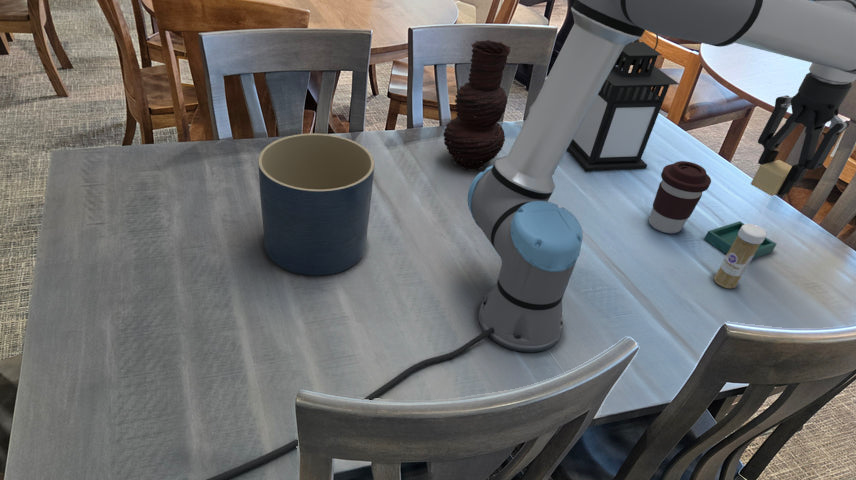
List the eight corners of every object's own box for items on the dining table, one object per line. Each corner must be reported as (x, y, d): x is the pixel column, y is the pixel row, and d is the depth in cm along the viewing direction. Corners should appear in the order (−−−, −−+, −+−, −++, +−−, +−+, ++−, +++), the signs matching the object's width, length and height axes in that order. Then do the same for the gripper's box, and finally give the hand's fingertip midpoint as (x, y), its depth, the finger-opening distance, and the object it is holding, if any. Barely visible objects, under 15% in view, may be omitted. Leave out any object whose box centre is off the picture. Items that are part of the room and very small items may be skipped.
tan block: (771, 196, 128) (782, 176, 125) (750, 184, 131) (760, 165, 128) (790, 190, 130) (801, 171, 127) (769, 178, 133) (779, 159, 130)
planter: (378, 226, 139) (386, 144, 127) (351, 288, 123) (356, 200, 110) (284, 207, 143) (282, 125, 130) (245, 264, 127) (239, 177, 114)
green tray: (740, 263, 136) (744, 255, 135) (704, 239, 142) (708, 230, 141) (772, 252, 140) (777, 244, 138) (735, 229, 146) (739, 220, 145)
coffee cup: (691, 240, 142) (719, 183, 132) (645, 233, 143) (670, 176, 133) (682, 216, 149) (708, 160, 140) (639, 210, 150) (662, 154, 141)
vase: (430, 151, 168) (446, 37, 148) (482, 145, 172) (505, 33, 152) (454, 180, 156) (475, 61, 137) (509, 173, 160) (537, 57, 141)
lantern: (585, 171, 163) (630, 35, 141) (557, 140, 176) (595, 10, 154) (645, 168, 166) (699, 34, 144) (614, 138, 179) (658, 10, 157)
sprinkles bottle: (709, 280, 131) (737, 227, 122) (719, 272, 133) (748, 220, 125) (730, 292, 128) (761, 239, 120) (740, 284, 130) (771, 231, 122)
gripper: (892, 93, 111) (822, 205, 126) (798, 57, 123) (745, 162, 138) (866, 99, 108) (798, 212, 123) (773, 62, 120) (721, 169, 135)
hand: (770, 186), depth 130 cm, fingers closed on tan block, 5 cm apart
